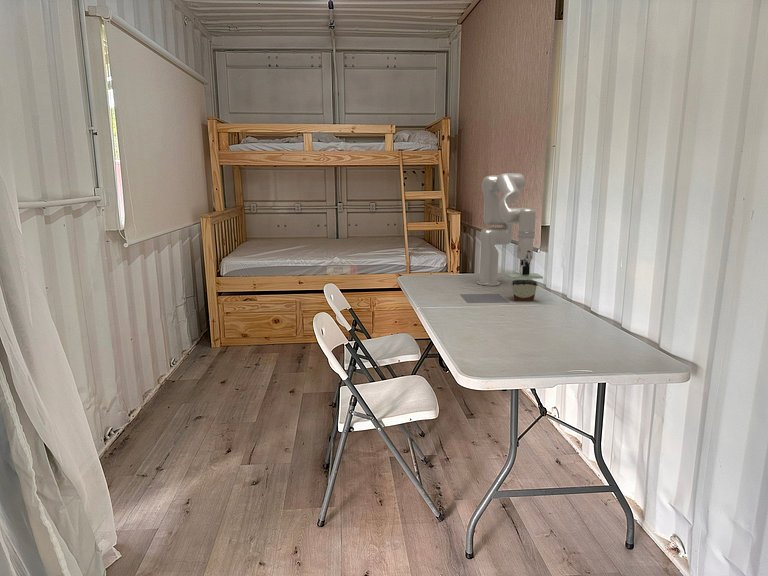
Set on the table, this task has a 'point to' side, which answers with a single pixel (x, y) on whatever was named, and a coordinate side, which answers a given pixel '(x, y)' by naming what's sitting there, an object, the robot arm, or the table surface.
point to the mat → (484, 298)
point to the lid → (520, 275)
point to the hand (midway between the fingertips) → (524, 273)
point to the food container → (524, 290)
